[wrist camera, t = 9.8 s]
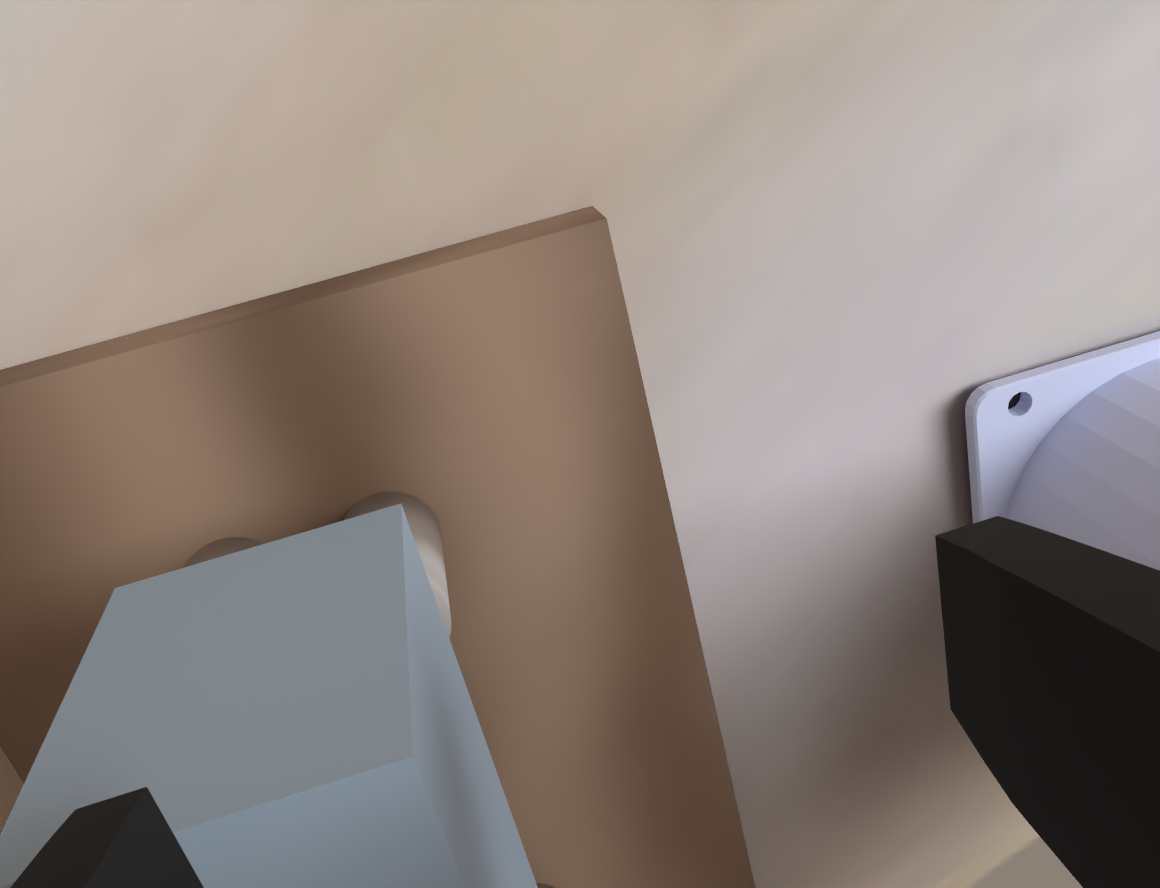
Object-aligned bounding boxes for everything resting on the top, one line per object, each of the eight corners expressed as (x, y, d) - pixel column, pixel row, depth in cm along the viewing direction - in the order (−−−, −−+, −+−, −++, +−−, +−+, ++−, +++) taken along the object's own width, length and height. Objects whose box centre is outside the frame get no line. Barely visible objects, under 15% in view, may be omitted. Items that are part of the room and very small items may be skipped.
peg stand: (592, 205, 18) (651, 257, 14) (756, 932, 26) (823, 1091, 22) (-154, 412, 17) (-313, 529, 13) (259, 1099, 25) (238, 1297, 21)
